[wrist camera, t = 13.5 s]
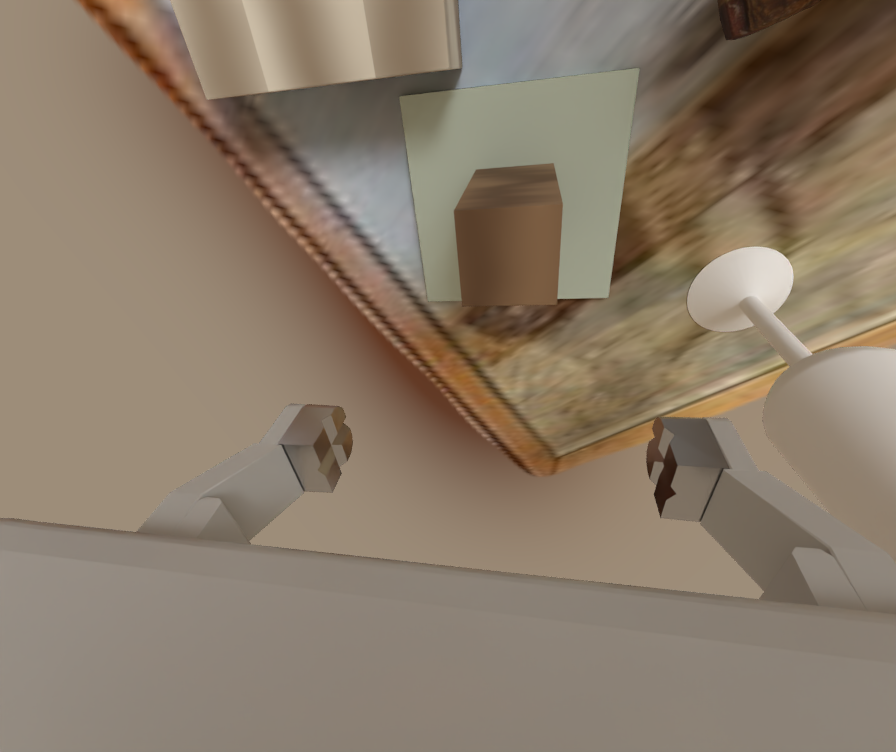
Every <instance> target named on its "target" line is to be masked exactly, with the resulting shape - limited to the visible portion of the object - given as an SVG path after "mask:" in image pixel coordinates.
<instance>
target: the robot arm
mask: <svg viewBox="0 0 896 752" xmlns="http://www.w3.org/2000/svg"><path fill="white" fill-rule="evenodd" d="M345 418H346V415H345V413H344V410H343V408H342V407H339V406H329V405H312V404H307V405H305V404H290V405H288V406H286V407H285V408H284V410H283V411H282V413H281V414H280V415H279V417H278V418H277V419H276V421H275V422H274V423H273V425H272V426H271V428H270V429H269V430H268V432H267V433H266V434H265V436H264V437H263V439H262V440H261V441H260V442H259V444H252V445H250V446H249V447H247V448H245V449H243V450H242V451H240V452H238V453H237V454H235V455H233V456H231V457H230V458H228V459H226V460H225V461H223V462H221V463H219V464H218V465H216V466H214V467H213V468H211V469H209V470H207V471H206V472H204V473H202V474H201V475H199V476H197V477H196V478H194V479H192V480H190V481H189V482H187V483H185V484H184V485H182V486H180V487H178V488H177V489H175V490H173V491H172V492H170V493H169V494H168V495H167V497H166V498H165V499H164V500H163V501H162V503H161V504H160V505H159V506H158V507H157V509H155V511H154V512H153V513H152V514H151V515H150V517H149V518H148V519H147V520H146V521H145V522H144V524H143V525H142V526H141V527H140V528H139V529H138V531H137V532H131V531H120V530H112V529H103V528H94V527H83V526H74V525H65V524H56V523H47V522H37V521H30V520H22V519H14V518H0V752H896V563H895V562H894V560H893V559H892V558H891V556H890V555H889V553H887V552H886V551H884V550H883V549H881V548H880V547H878V546H877V545H875V544H874V543H872V542H871V541H869V540H868V539H866V538H865V537H863V536H862V535H860V534H859V533H857V532H856V531H854V530H853V529H851V528H850V527H848V526H847V525H845V524H844V523H842V522H841V521H839V520H838V519H837V518H835V517H834V516H832V515H831V514H829V513H828V512H826V511H825V510H823V509H822V508H820V507H819V506H817V505H816V504H814V503H813V502H811V501H810V500H808V499H806V498H805V497H804V496H802V495H801V494H799V493H798V492H796V491H795V490H793V489H792V488H790V487H789V486H787V485H786V484H784V483H783V482H781V481H780V480H778V479H777V478H775V477H774V476H772V475H771V474H769V473H768V472H766V471H759V470H758V469H757V467H756V465H755V463H754V461H753V460H752V458H751V456H750V454H749V453H748V451H747V449H746V447H745V445H744V443H743V442H742V440H741V438H740V436H739V434H738V433H737V431H736V429H735V427H734V426H733V424H732V422H731V421H730V420H729V419H728V418H690V417H656V419H655V421H654V424H653V428H652V430H653V433H654V436H655V438H653V439H652V440H651V441H649V443H648V448H647V458H646V460H647V461H646V463H647V470H648V475H649V479H650V480H651V481H652V482H653V483H654V484H656V489H655V492H654V497H655V500H656V504H657V507H658V511H659V514H660V518H666V519H676V520H686V521H695V522H701V523H700V524H701V525H702V526H703V527H704V528H705V529H706V531H707V532H708V533H709V534H710V535H711V536H712V537H713V538H714V539H715V540H716V541H717V542H718V543H719V544H720V545H721V546H722V547H723V548H724V550H725V551H726V552H727V553H728V554H729V555H730V556H731V557H732V558H733V559H734V560H735V561H736V562H737V563H738V564H739V565H740V566H741V567H742V568H743V569H744V571H745V572H746V573H747V574H748V575H749V576H750V577H751V578H752V579H753V580H754V581H755V582H756V583H757V584H758V585H759V586H760V587H761V589H762V590H763V591H764V593H763V594H762V596H761V597H760V598H759V599H751V598H742V597H733V596H724V595H715V594H705V593H696V592H687V591H677V590H668V589H658V588H650V587H641V586H631V585H622V584H613V583H603V582H594V581H584V580H574V579H565V578H556V577H546V576H537V575H528V574H519V573H509V572H500V571H491V570H482V569H472V568H462V567H454V566H445V565H435V564H426V563H417V562H408V561H399V560H390V559H380V558H371V557H362V556H353V555H343V554H334V553H324V552H315V551H306V550H297V549H288V548H279V547H270V546H260V545H251V543H250V542H249V541H250V540H251V539H252V538H253V537H254V536H255V535H257V534H258V533H259V532H260V531H261V530H262V529H263V528H265V527H266V526H267V525H268V524H269V523H270V522H271V521H273V520H274V519H275V518H276V517H277V516H278V515H279V514H281V513H282V512H283V511H284V510H285V509H286V508H287V507H288V506H290V505H291V504H292V503H293V502H294V501H295V500H296V499H298V498H299V497H300V496H301V495H302V494H303V493H304V491H309V492H330V493H332V492H333V490H334V488H335V486H336V484H337V482H338V480H339V478H340V476H341V474H342V473H341V470H340V466H341V465H343V464H344V463H345V462H347V461H348V459H349V457H350V454H351V451H352V445H353V440H352V433H351V430H350V428H349V427H348V426H346V425H345V424H344V423H343V422H344V420H345Z"/></svg>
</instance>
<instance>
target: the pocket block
mask: <svg viewBox="0 0 896 752" xmlns="http://www.w3.org/2000/svg"><path fill="white" fill-rule="evenodd" d="M170 1H171V4H172V7H173V9H174V12H175V15H176V17H177V20H178V23H179V26H180V28H181V31H182V34H183V36H184V39H185V42H186V45H187V47H188V50H189V53H190V55H191V58H192V61H193V64H194V66H195V69H196V72H197V74H198V77H199V80H200V83H201V85H202V88H203V91H204V93H205V96H206V99H207V100H209V99H219V98H229V97H239V96H249V95H258V94H266V93H273V92H281V91H289V90H297V89H305V88H313V87H320V86H328V85H336V84H344V83H352V82H360V81H367V80H375V79H383V78H391V77H399V76H407V75H414V74H422V73H430V72H438V71H446V70H454V69H461V68H462V55H461V40H460V24H459V9H458V0H170Z"/></svg>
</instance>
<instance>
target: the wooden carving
mask: <svg viewBox="0 0 896 752" xmlns="http://www.w3.org/2000/svg"><path fill="white" fill-rule="evenodd" d="M819 1H821V0H718V6H719V13H720V21H721V23H722V27H723V31H724V33H725V37H726V40H735V39H738V38H742V37H745V36H748V35H751V34H753V33H755V32H758V31H760V30H762V29H765V28H767V27H769V26H771V25H773V24H775V23H777V22H780V21H782V20H784V19H786V18H788V17H790V16H792V15H794V14H796V13H798V12H800V11H802V10H804V9H807V8H809V7H811V6H813V5H815V4H816V3H818V2H819Z"/></svg>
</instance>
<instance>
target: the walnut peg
mask: <svg viewBox="0 0 896 752" xmlns="http://www.w3.org/2000/svg"><path fill="white" fill-rule="evenodd" d="M562 212H563V202H562V198H561V193H560V189H559V185H558V180H557V176H556V171H555V167H554V163H550V164H538V165H525V166H513V167H501V168H488V169H476V171H475V172H474V174H473V176H472V178H471V180H470V182H469V183H468V185H467V187H466V189H465V191H464V193H463V195H462V196H461V198H460V200H459V202H458V204H457V206H456V208H455V209H454V220H455V232H456V243H457V254H458V265H459V277H460V288H461V299H462V306H517V305H557V297H558V280H559V263H560V246H561V229H562Z"/></svg>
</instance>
